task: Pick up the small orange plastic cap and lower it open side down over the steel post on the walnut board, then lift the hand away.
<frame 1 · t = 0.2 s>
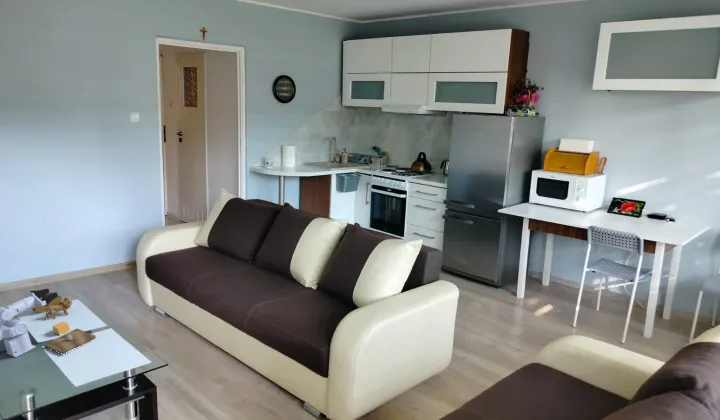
hand: (52, 292, 252), 21 cm above the table, tool horizontal, fingers open, 7 cm apart
wooden carving: (47, 310, 282), on the table
lion figurine: (61, 315, 275), on the table
walnut board: (70, 342, 246), on the table
orange cap: (62, 331, 257), on the table
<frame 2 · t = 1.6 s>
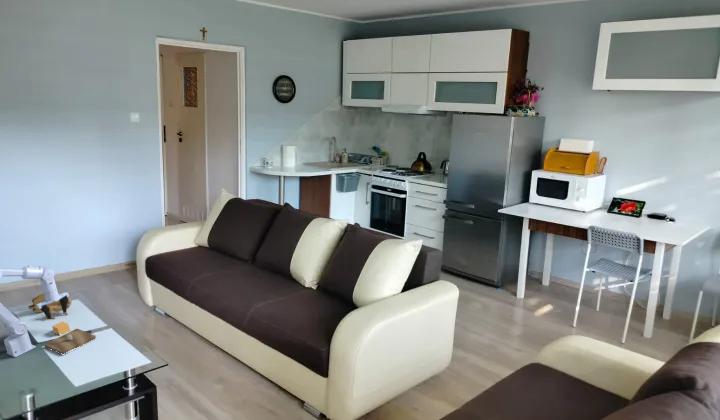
hand: (57, 315, 254), 9 cm above the table, tool pointing down, fingers open, 7 cm apart
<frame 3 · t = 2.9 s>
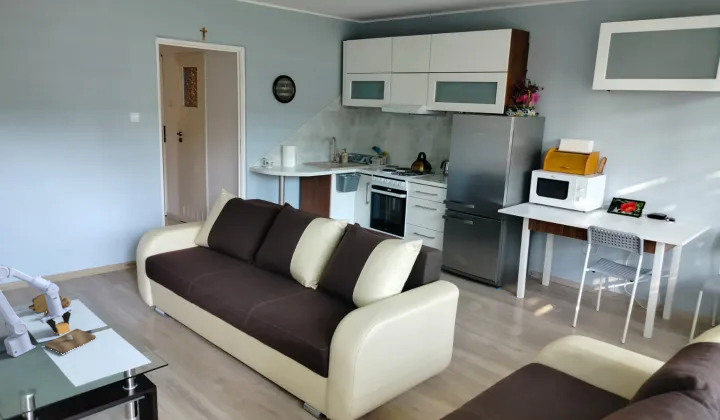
hand: (61, 329, 257), 1 cm above the table, tool pointing down, fingers closed on orange cap, 5 cm apart
orange cap: (62, 331, 257), on the table, touching gripper
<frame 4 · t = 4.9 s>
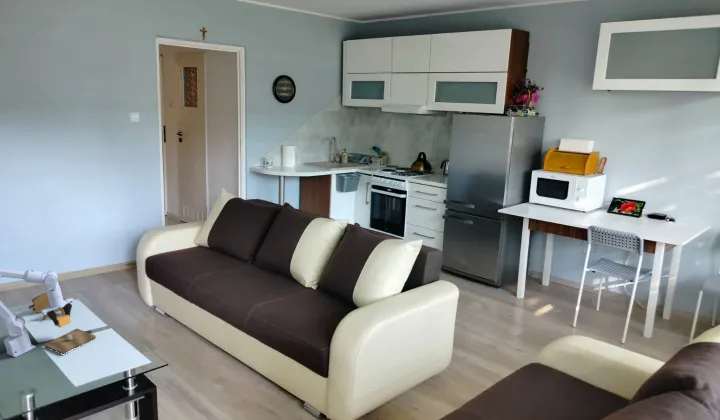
hand: (62, 321, 248), 9 cm above the table, tool pointing down, fingers closed on orange cap, 5 cm apart
orange cap: (63, 324, 249), point 8 cm above the table, touching gripper
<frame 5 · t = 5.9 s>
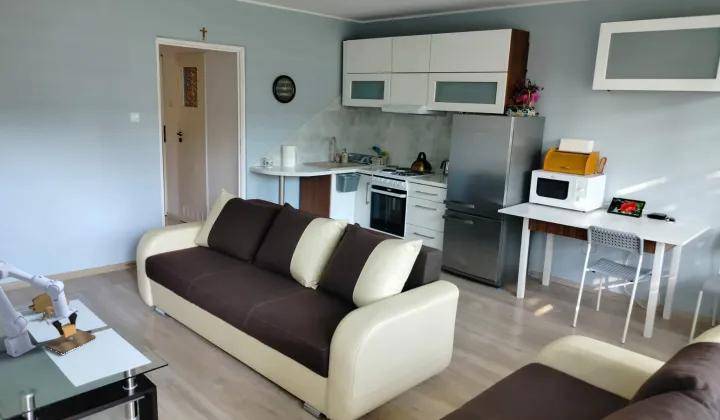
hand: (67, 331, 244), 6 cm above the table, tool pointing down, fingers closed on orange cap, 5 cm apart
orange cap: (68, 333, 245), point 5 cm above the table, touching gripper
when the fingers open (4 cm above the table, at t = 6.8 s): orange cap stays where it is, resting on walnut board.
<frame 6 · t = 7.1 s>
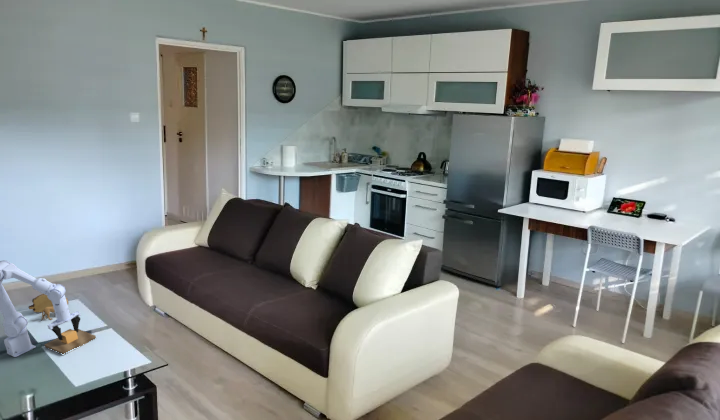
hand: (68, 335, 245), 4 cm above the table, tool pointing down, fingers open, 7 cm apart
orange cap: (69, 339, 246), point 1 cm above the table, touching walnut board
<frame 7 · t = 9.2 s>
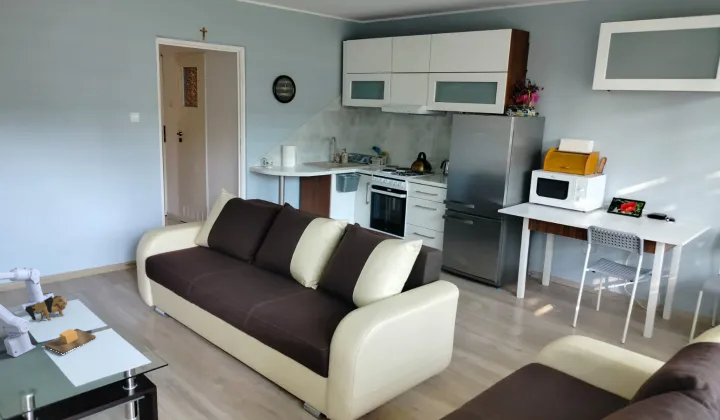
hand: (42, 316, 255), 9 cm above the table, tool pointing down, fingers open, 7 cm apart
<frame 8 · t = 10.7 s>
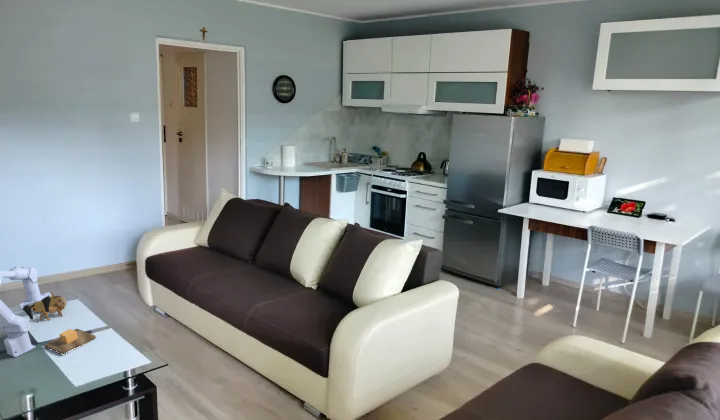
hand: (39, 315, 256), 9 cm above the table, tool pointing down, fingers open, 7 cm apart
at the end: orange cap 0.1 cm off-centre on the walnut board, point 1.5 cm above the walnut board's base; orange cap tilted 0°; the gripper is holding nothing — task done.
